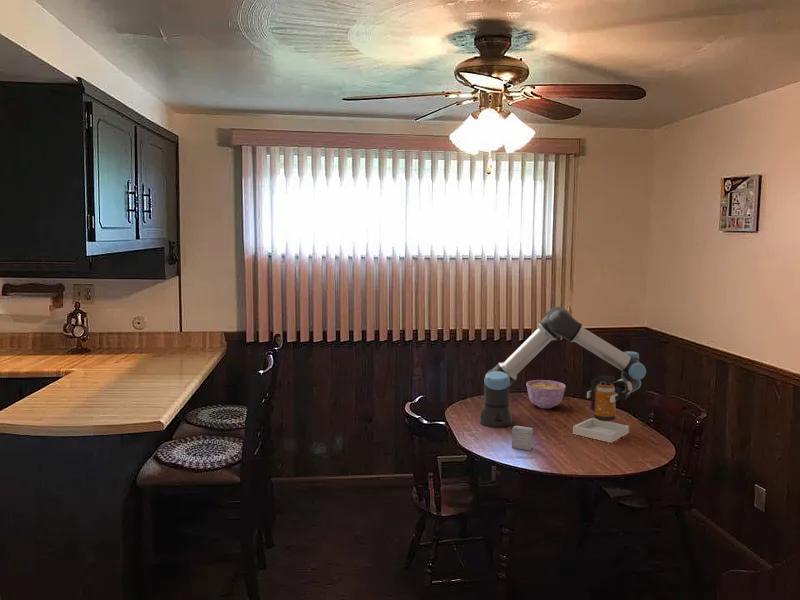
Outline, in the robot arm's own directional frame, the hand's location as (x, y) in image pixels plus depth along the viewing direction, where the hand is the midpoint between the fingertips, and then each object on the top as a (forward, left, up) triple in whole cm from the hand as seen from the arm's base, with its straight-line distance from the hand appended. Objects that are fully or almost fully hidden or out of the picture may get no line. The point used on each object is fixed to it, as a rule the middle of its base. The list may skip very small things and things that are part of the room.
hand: (599, 397), depth 291 cm
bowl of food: (+28, +42, -18) cm, 54 cm away
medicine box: (-36, +16, -18) cm, 44 cm away
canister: (+4, 0, -11) cm, 12 cm away
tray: (+4, 0, -18) cm, 19 cm away
